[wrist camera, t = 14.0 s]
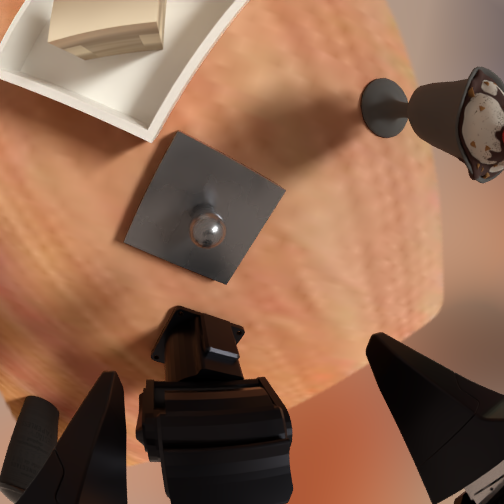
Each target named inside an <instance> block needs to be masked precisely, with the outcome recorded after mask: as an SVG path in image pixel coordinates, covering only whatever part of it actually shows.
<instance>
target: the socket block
mask: <svg viewBox="0 0 504 504" xmlns="http://www.w3.org/2000/svg"><path fill="white" fill-rule="evenodd" d="M166 3H167V0H54V2H53V7H52V13H51V20H50V27H49V34H48V43H50V44H52V45H54V46H56V47H59V48H61V49H63V50H65V51H67V52H69V53H71V54H73V55H75V56H77V57H79V58H81V59H83V60H90V59H95V58H100V57H106V56H112V55H118V54H126V53H133V52H142V51H152V50H163V44H164V28H165V15H166Z"/></svg>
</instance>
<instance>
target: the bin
mask: <svg viewBox="0 0 504 504" xmlns="http://www.w3.org/2000/svg"><path fill="white" fill-rule="evenodd" d="M249 1H250V0H167V3H166V15H165V28H164V44H163V50H152V51H142V52H133V53H126V54H118V55H112V56H106V57H100V58H95V59H90V60H83V59H81V58H79V57H77V56H75V55H73V54H71V53H69V52H67V51H65V50H63V49H61V48H59V47H56V46H54V45H52V44H50V43H48V34H49V27H50V20H51V13H52V7H53V2H54V0H25V2H24V4H23V5H22V7H21V8H20V10H19V11H18V13H17V15H16V16H15V18H14V20H13V21H12V23H11V25H10V27H9V28H8V30H7V32H6V34H5V36H4V38H3V39H2V41H1V43H0V79H1V80H4V81H7V82H10V83H12V84H15V85H18V86H20V87H23V88H26V89H28V90H31V91H33V92H36V93H38V94H41V95H44V96H46V97H49V98H51V99H53V100H56V101H58V102H61V103H63V104H66V105H68V106H70V107H73V108H75V109H77V110H80V111H82V112H84V113H87V114H89V115H91V116H94V117H96V118H98V119H100V120H103V121H105V122H107V123H109V124H111V125H114V126H116V127H118V128H120V129H122V130H125V131H127V132H129V133H131V134H133V135H135V136H137V137H140V138H142V139H144V140H146V141H148V142H150V143H152V142H153V141H154V140H155V139H156V138H157V136H158V134H159V132H160V131H161V129H162V127H163V125H164V123H165V122H166V120H167V118H168V116H169V115H170V113H171V111H172V110H173V108H174V106H175V105H176V103H177V101H178V100H179V98H180V96H181V95H182V93H183V91H184V90H185V88H186V87H187V85H188V83H189V82H190V80H191V79H192V77H193V76H194V74H195V73H196V71H197V70H198V68H199V67H200V65H201V64H202V62H203V61H204V59H205V58H206V57H207V55H208V54H209V52H210V51H211V49H212V48H213V47H214V45H215V44H216V43H217V41H218V40H219V38H220V37H221V36H222V34H223V33H224V32H225V30H226V29H227V28H228V27H229V25H230V24H231V23H232V21H233V20H234V19H235V18H236V16H237V15H238V14H239V13H240V11H241V10H242V9H243V8H244V7H245V5H246V4H247V3H248V2H249Z"/></svg>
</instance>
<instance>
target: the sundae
mask: <svg viewBox="0 0 504 504" xmlns="http://www.w3.org/2000/svg"><path fill="white" fill-rule="evenodd" d="M361 107H362V114H363V117H364V120H365V122H366V124H367V126H368V127H369V129H370V130H371V131H372V132H374V133H375V134H376V135H378V136H380V137H384V138H390V137H394V136H396V135H397V134H399V133H400V132H401V131H402V130H403V128H404V126H405V125H406V122H407V120H408V119H409V121H410V124H411V126H412V128H413V130H414V132H415V133H416V134H417V135H418V136H419V137H420V138H421V139H423V140H424V141H426V142H427V143H429V144H431V145H432V146H434V147H436V148H438V149H441V150H443V151H445V152H447V153H449V154H451V155H453V156H455V157H456V158H458V159H459V160H460V161H462V162H463V163H465V165H466V166H467V168H468V172H469V176H470V178H471V179H472V180H477V181H478V182H480V183H485V182H488V181H490V180H492V179H494V178H495V177H496V176H498V175H499V174H500V173H501V172H502V171H503V170H504V84H503V82H502V80H501V79H500V78H499V77H498V76H497V75H496V74H495V73H493V72H492V71H490V70H489V69H486V68H484V67H476V68H474V69H473V71H472V72H471V74H470V76H469V78H468V79H465V80H460V81H454V82H441V83H432V84H427V85H423V86H420V87H418V88H417V89H416V90H415V91H414V93H413V94H412V96H411V98H410V101H409V103H408V101H407V98H406V96H405V94H404V92H403V90H402V89H401V88H400V87H399V86H398V85H397V84H396V83H395V82H394V81H391V80H389V79H386V78H380V79H376V80H374V81H372V82H371V83H370V84H369V85H368V86H367V87H366V89H365V91H364V93H363V96H362V104H361Z"/></svg>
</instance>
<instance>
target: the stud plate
mask: <svg viewBox="0 0 504 504" xmlns="http://www.w3.org/2000/svg"><path fill="white" fill-rule="evenodd" d="M285 191H286V190H285V189H283V188H282V187H281V186H279V185H278V184H276V183H274V182H273V181H271V180H269V179H268V178H266V177H264V176H262V175H261V174H259V173H257V172H255V171H254V170H252V169H250V168H248V167H247V166H245V165H243V164H241V163H240V162H238V161H236V160H234V159H232V158H231V157H229V156H227V155H225V154H223V153H222V152H220V151H218V150H216V149H214V148H212V147H210V146H208V145H207V144H205V143H203V142H201V141H199V140H197V139H195V138H193V137H191V136H189V135H187V134H185V133H183V132H181V131H180V130H178V131H177V133H176V135H175V137H174V138H173V140H172V142H171V144H170V146H169V148H168V149H167V151H166V153H165V155H164V157H163V159H162V161H161V163H160V164H159V166H158V168H157V170H156V172H155V174H154V176H153V178H152V180H151V182H150V184H149V186H148V188H147V190H146V192H145V195H144V197H143V199H142V201H141V203H140V205H139V207H138V210H137V212H136V214H135V216H134V218H133V221H132V223H131V225H130V228H129V230H128V232H127V235H126V237H125V240H124V243H126V244H129V245H131V246H133V247H136V248H138V249H140V250H143V251H145V252H147V253H150V254H152V255H154V256H157V257H159V258H161V259H164V260H166V261H169V262H171V263H174V264H176V265H178V266H181V267H183V268H186V269H188V270H191V271H193V272H196V273H198V274H201V275H203V276H206V277H208V278H211V279H213V280H216V281H218V282H221V283H223V284H226V285H227V283H228V281H229V280H230V278H231V277H232V275H233V274H234V272H235V270H236V269H237V267H238V266H239V264H240V262H241V261H242V259H243V258H244V256H245V255H246V253H247V251H248V250H249V248H250V247H251V245H252V243H253V242H254V240H255V239H256V237H257V236H258V234H259V232H260V231H261V229H262V228H263V226H264V224H265V223H266V221H267V220H268V218H269V217H270V215H271V213H272V212H273V210H274V209H275V207H276V206H277V204H278V202H279V201H280V199H281V198H282V196H283V194H284V193H285Z"/></svg>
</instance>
